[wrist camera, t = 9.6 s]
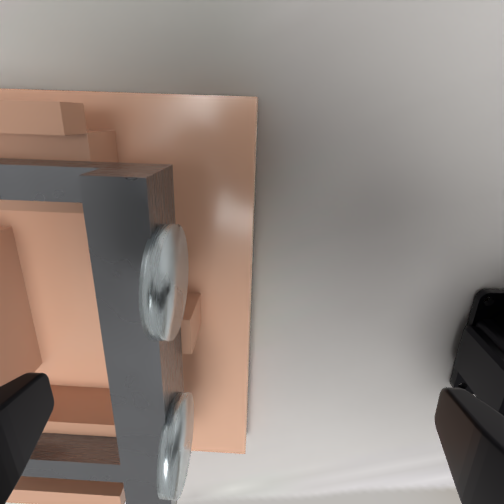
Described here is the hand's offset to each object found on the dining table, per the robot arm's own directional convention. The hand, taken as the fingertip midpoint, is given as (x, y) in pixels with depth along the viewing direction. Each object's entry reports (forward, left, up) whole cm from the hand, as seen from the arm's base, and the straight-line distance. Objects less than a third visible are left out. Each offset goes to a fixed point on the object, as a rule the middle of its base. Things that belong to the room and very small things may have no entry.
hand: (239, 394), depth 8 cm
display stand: (+8, +3, -11) cm, 14 cm away
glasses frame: (+8, +3, -7) cm, 11 cm away
